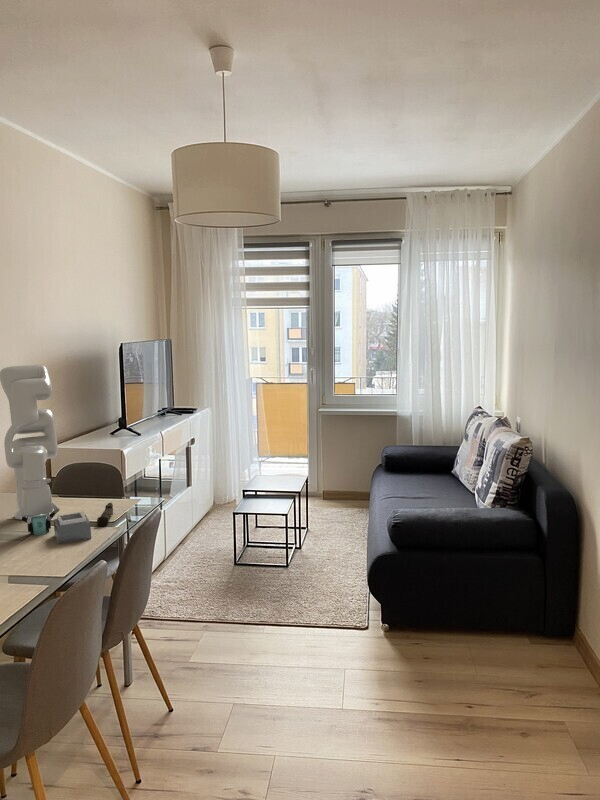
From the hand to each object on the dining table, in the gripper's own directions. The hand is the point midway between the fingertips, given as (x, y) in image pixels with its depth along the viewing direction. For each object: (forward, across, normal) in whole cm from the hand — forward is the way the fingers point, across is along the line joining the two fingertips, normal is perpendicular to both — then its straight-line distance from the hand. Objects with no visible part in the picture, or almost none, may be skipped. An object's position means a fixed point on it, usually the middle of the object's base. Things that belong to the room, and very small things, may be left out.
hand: (39, 531), depth 236 cm
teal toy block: (0, 0, 0) cm, 0 cm away
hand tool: (+1, -24, -4) cm, 25 cm away
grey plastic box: (0, -10, +12) cm, 16 cm away
